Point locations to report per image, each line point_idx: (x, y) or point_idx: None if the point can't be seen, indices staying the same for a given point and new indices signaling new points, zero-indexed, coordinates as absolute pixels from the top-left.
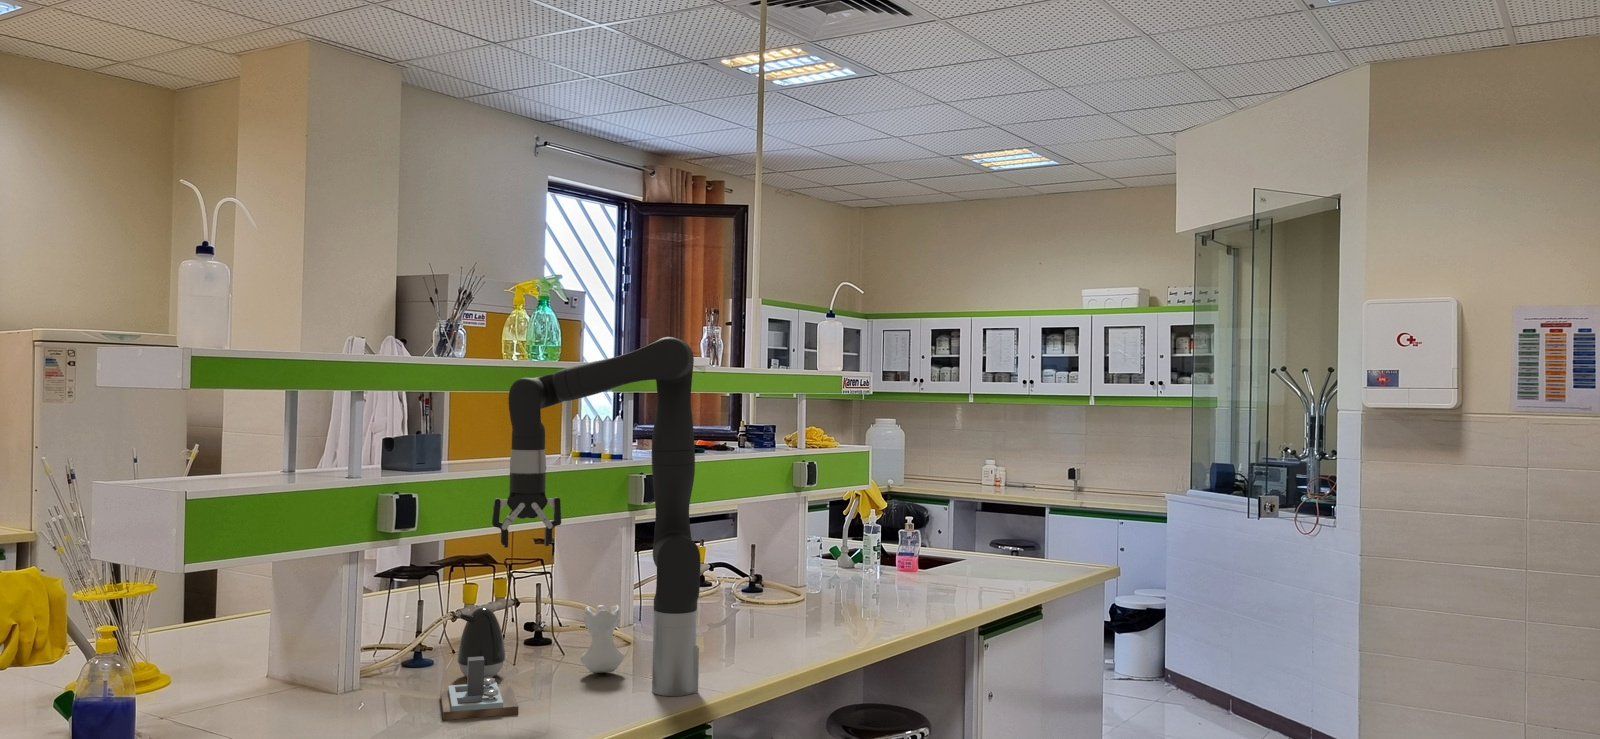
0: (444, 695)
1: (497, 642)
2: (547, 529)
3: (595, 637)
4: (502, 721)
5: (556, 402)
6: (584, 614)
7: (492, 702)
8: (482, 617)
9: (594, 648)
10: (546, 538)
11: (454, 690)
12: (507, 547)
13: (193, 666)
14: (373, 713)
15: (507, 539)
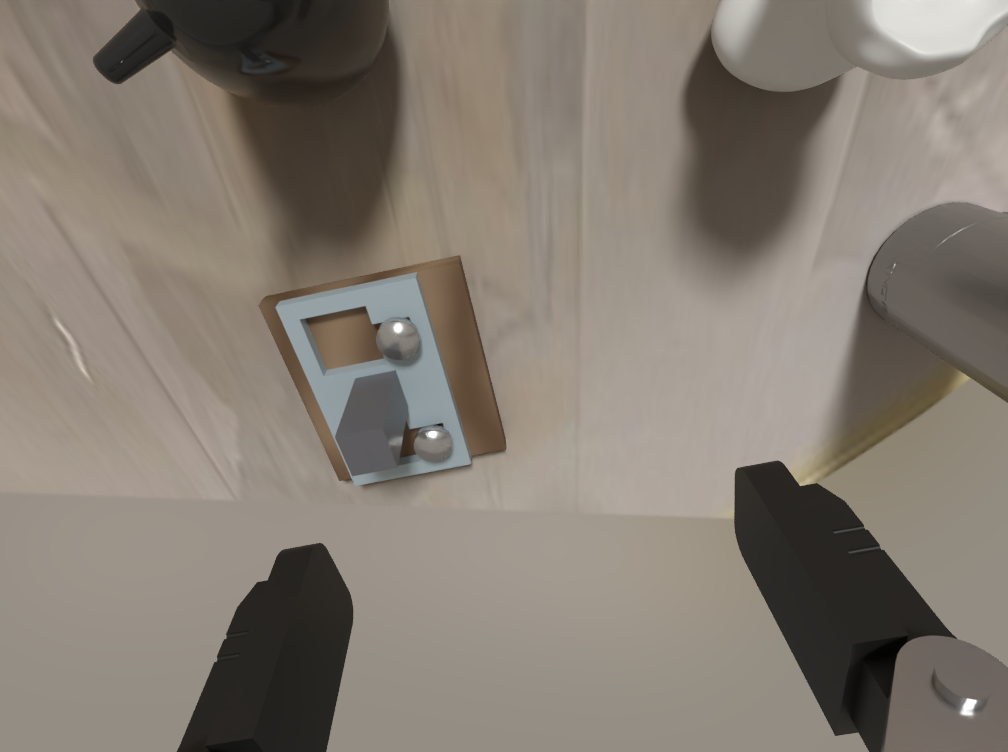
0: (288, 350)
1: (351, 57)
2: (853, 727)
3: (819, 18)
4: (476, 481)
5: None
6: None
7: (444, 463)
8: (232, 59)
9: (786, 58)
10: (780, 613)
11: (313, 359)
12: (346, 597)
13: None
14: (149, 415)
15: (331, 690)
